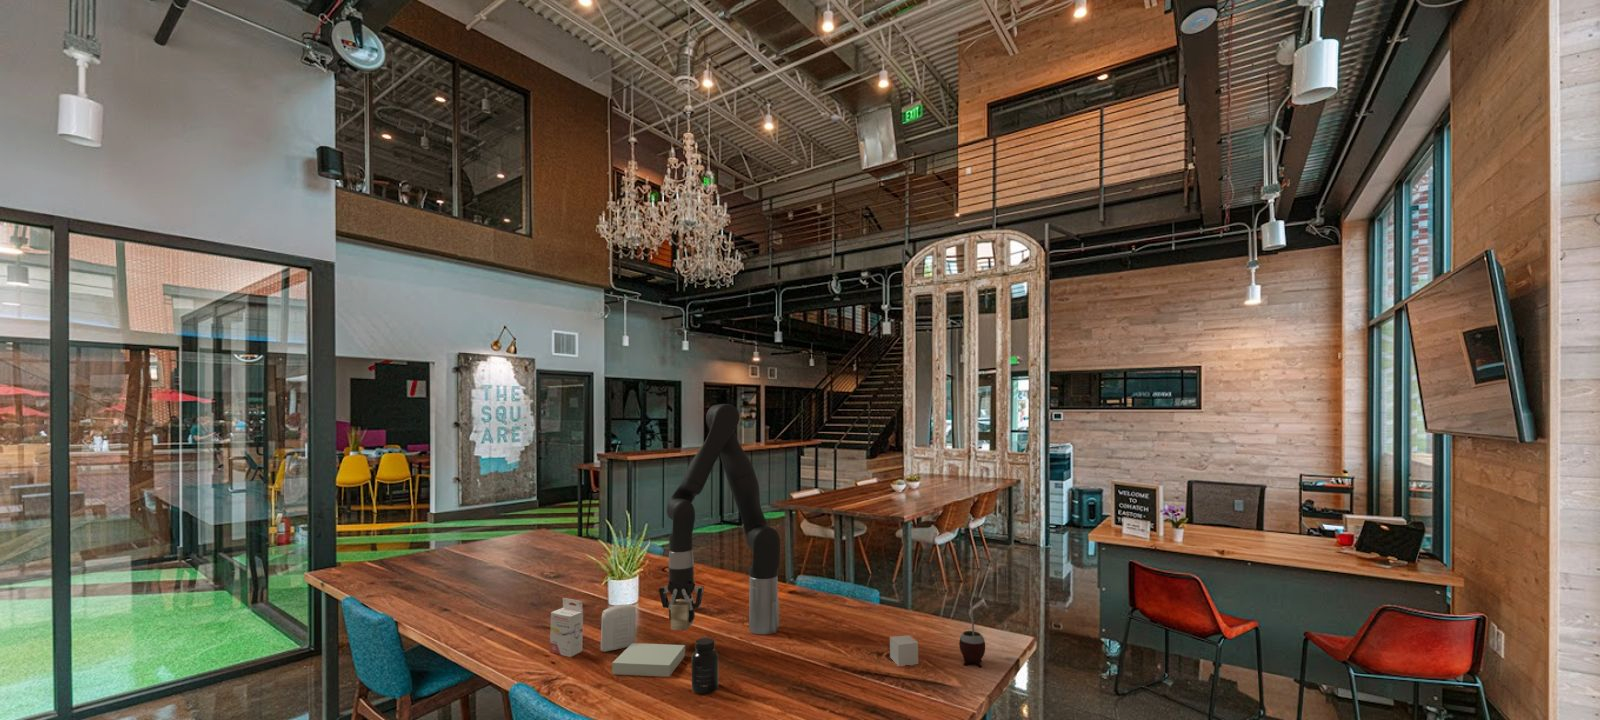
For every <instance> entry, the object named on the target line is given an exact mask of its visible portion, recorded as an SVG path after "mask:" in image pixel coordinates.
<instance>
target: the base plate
mask: <svg viewBox="0 0 1600 720" xmlns="http://www.w3.org/2000/svg"><path fill="white" fill-rule="evenodd" d="M685 656H686V645H685V644H665V643H663V644H662V643H661V644H660V643H643V642H641V643H638V642H635V643H632V644H631V645H630V646H629V647H626V649H624V651H623V652H621V653H620V655H619V656H618V657H616V659H614V661H612V662H611V663H612V665H611V668H612V670H611V672H612V673H611V674H612V675H619V676H620V675H623V676H642V677H643V676H645V677H663V678H664V677H666V678H670V676H671V675H672V674H673V672H675V670H676V668H677V667H678V666H679V664H680V663H681V662H682V661H683V659H684V658H685Z"/></svg>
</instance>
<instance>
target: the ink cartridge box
mask: <svg viewBox="0 0 1600 720" xmlns="http://www.w3.org/2000/svg"><path fill="white" fill-rule="evenodd" d="M572 603H573V604H575V605H573V604H572ZM571 604H572V605H571ZM583 622H584V610H583V602H582V601H581V600H576V599H572V598H566V597H563V598H562V607H561V608H558V609H556V610H553V611H551V612H550V633H549V634H550V636H549V637H550V638H549V653H551V654H555V655H560V656H564V657H569V658H572V657H574V656H576V655H577V654H579V653H582V652H583V638H584V637H583V633H584V631H583V630H584V625H583V624H584V623H583Z"/></svg>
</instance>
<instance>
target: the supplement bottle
mask: <svg viewBox="0 0 1600 720" xmlns="http://www.w3.org/2000/svg"><path fill="white" fill-rule="evenodd" d="M715 646H716V645H715V639H713V638H710V637H702V638H699V639H697V640H696V641H695V647H694V649H695V651H694V652H693V653H692V655H691V690H692V692H694V693H695V694H697V695H709V694H712V693H714V692H716V691H717V690H718V688H719V653H718V651H717V650H716V649H715Z"/></svg>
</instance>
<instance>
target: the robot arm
mask: <svg viewBox="0 0 1600 720" xmlns="http://www.w3.org/2000/svg"><path fill="white" fill-rule="evenodd" d="M740 416H741V415H740V412H739V410H738V409H737V407H736V406H734V404H733V405H732V404H729V403H721V404H720V403H719V404H714V405H712V406H711V407H710V408H709V409H707V412H706V415H705V421H706V426H707V427H708V429H709V432H708V434H707V436H706V439H705V440H704V443H702V445H701V447H700V449H699V450H698V451H697V453H696V454H695V455H694V457H693V458H692V460H691V461H690V463H689V465H688V467H687V469H686V471H685V473H684V475H683V478H682V480H681V482H680V484H679V485H678V486H677V488H676V490H674V493H673V494H672V495H671V496H670V499H669V501H668V503H667V506H666V515H667V516H668V518H669V519H670V520H672V531H671V532H670V534H669V537H668V541H669V542H668V544H669V545H668V547H669V550H668V551H669V552H668V563H667V564H668V584H667V585H662V586H661V587H659V588H658V592H659V597H660V601H661V605H662V608H665V609H668V619H669V621H671V605H672V604H674V602H676V600H685V601H686V603H687V604H689V622H692V621H693V622H694V620H695V618H696V615H695V614H696V613H695V611H696V609H699V608H700V605H701V604H702V599H703V594H704V590H705V587H704V586H703V585H702V586H701V585H700V586H698V585H696V583H695V581H694V579H695V573H694V572H695V571H694V570H695V569H694V568H695V567H694V564H695V563H694V553H693V552H694V551H693V532H694V527H695V520H696V519H695V518H696V512H695V511H696V510H695V507H694V505H693V501H694V500H695V498H696V496H699V495H700V494H701V492H702V491H703V489H704V487H705V485H706V483H707V480H708V478H709V476H710V474H711V471H712V470H713V467H714V466H715V463H716V461H717V459H718V457H720V459H721V464H722V467H723V469H724V474H725V476H726V479H727V483H728V486H729V489H730V492H731V494H732V496H733V501H735V505H736V506H737V509H738V512H739V513H740V517H741V522H742V526H743V530H744V535H745V539H746V543H747V546H748V547H749V548H750V549H751V550H752V564H751V566H750V567H749V570H748V574H749V577H748V578H749V581H748V582H749V586H748V587H749V590H748V591H749V593H748V594H749V595H748V596H749V599H748V601H749V603H748V604H749V606H748V613H749V615H748V616H749V617H748V621H749V622H748V625H749V626H748V627H749V629H748V630H749V632H750V633H752V634H754V635H771V634H777V632H778V630H779V627H780V597H779V595H778V593H779V592H778V590H779V589H778V588H779V587H778V586H779V585H778V584H779V583H778V580H779V579H778V578H779V577H778V576H779V575H778V573H779V571H778V570H779V568H780V565H781V563H780V561H781V539H780V535H779V533H778V531H777V529H775V528H773V527H772V526H770V525H769V524H768V522H767V520H766V518H765V515H764V512H763V510H762V506H761V497H760V485H759V482H758V481H759V480H758V478H757V475H756V471H755V468H754V465H753V464H752V462H751V461H750V460H751V459H750V458H749V456H748V455H747V453H746V452H745V450H744V449H743V447H742V446H741V444H740V442H739V440H738V437H737V434H736V428H737V427H738V426H739V423H740ZM694 591H695V594H696V597H695V601H694V597H693V594H692V593H693V592H694ZM668 592H669V593H670V594H671V598H670V601H669V598H668V594H667V593H668Z"/></svg>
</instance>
